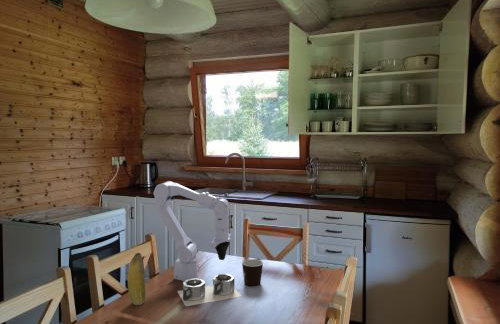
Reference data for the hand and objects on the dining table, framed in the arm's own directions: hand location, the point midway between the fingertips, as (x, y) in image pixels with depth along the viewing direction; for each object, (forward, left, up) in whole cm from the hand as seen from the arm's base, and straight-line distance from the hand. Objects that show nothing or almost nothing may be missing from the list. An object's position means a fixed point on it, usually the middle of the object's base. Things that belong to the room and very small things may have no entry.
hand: (221, 259), depth 160 cm
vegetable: (-18, -32, -10) cm, 38 cm away
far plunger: (+6, -9, -8) cm, 13 cm away
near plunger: (-2, -18, -8) cm, 20 cm away
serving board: (+2, -14, -10) cm, 17 cm away
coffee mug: (+13, +4, -10) cm, 17 cm away
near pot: (-2, -19, -9) cm, 21 cm away
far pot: (+6, -10, -9) cm, 15 cm away
